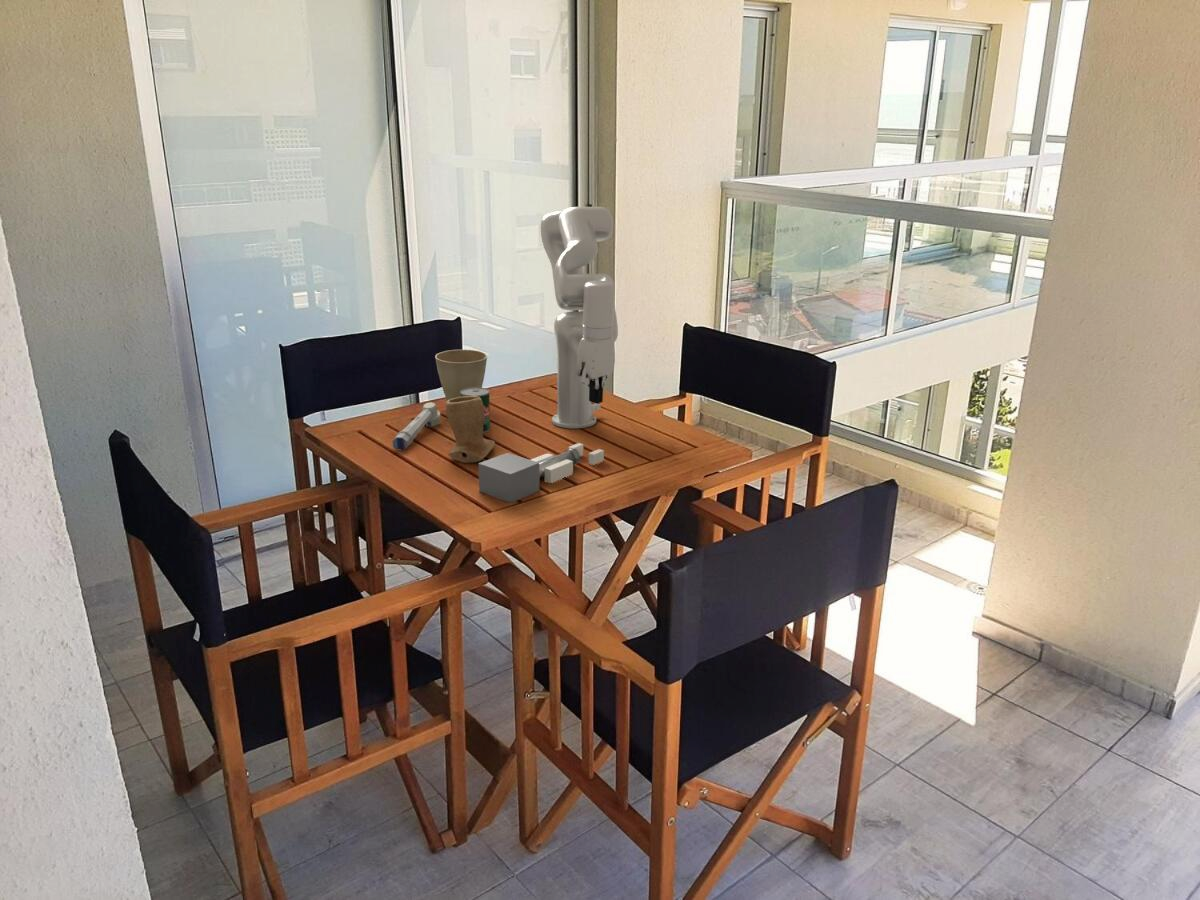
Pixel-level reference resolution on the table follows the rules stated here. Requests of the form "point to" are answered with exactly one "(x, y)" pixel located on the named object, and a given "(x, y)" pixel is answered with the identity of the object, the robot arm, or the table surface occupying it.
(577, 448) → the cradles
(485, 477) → the socket block
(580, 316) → the robot arm
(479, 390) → the canned tomato
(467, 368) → the plant pot
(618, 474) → the table surface
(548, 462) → the slip tube
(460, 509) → the table surface
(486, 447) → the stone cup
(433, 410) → the white handheld tool
